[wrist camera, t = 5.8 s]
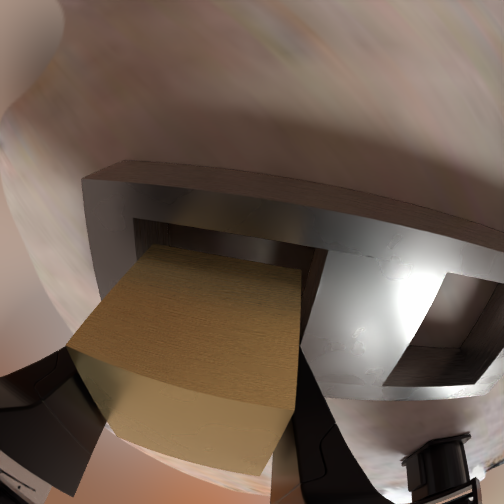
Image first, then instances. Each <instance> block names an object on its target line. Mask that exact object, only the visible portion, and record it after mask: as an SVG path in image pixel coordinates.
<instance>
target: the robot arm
mask: <svg viewBox="0 0 504 504" xmlns="http://www.w3.org/2000/svg"><path fill="white" fill-rule="evenodd" d="M106 422H107V421H106V419H105V418H104V416H103V414H102V413H101V411H100V410H99V408H98V406H97V405H96V403H95V401H94V400H93V398H92V396H91V394H90V393H89V391H88V389H87V387H86V385H85V384H84V382H83V380H82V378H81V376H80V374H79V372H78V370H77V368H76V366H75V364H74V362H73V360H72V358H71V356H70V354H69V352H68V350H67V348H66V346H65V347H63V348H61V349H60V350H59V351H56V352H54V353H52V354H51V355H49V356H47V357H45V358H43V359H41V360H39V361H37V362H35V363H33V364H31V365H29V366H26V367H24V368H22V369H19V370H17V371H15V372H13V373H10V374H8V375H5V376H3V377H0V504H44V502H45V500H46V498H47V496H48V494H49V491H50V489H51V487H52V486H53V487H55V488H57V489H59V490H60V491H62V492H64V493H66V494H68V495H69V496H71V497H74V495H75V493H76V491H77V488H78V486H79V483H80V481H81V478H82V476H83V473H84V471H85V469H86V467H87V464H88V462H89V460H90V457H91V455H92V452H93V450H94V448H95V446H96V444H97V441H98V439H99V437H100V435H101V433H102V430H103V428H104V426H105V424H106ZM335 423H336V422H335V419H334V417H333V415H332V413H331V411H330V409H329V407H328V404H327V402H326V400H325V398H324V396H323V394H322V392H321V389H320V387H319V385H318V383H317V381H316V379H315V377H314V374H313V372H312V370H311V368H310V366H309V364H308V362H307V359H306V357H305V355H304V353H303V351H302V349H301V347H300V345H299V354H298V371H297V386H296V399H295V410H294V412H293V415H292V417H291V419H290V421H289V423H288V425H287V427H286V429H285V431H284V432H283V434H282V436H281V438H280V440H279V442H278V444H277V446H276V448H275V450H274V451H273V462H272V480H271V497H270V504H395V503H393V502H391V501H390V500H388V499H386V498H385V497H384V496H382V495H381V494H380V493H379V492H378V491H377V490H376V489H375V488H374V486H373V485H372V484H371V482H370V481H369V479H368V478H367V476H366V474H365V473H364V471H363V470H362V468H361V467H360V465H359V464H358V462H357V461H356V459H355V458H354V456H353V454H352V453H351V451H350V449H349V448H348V446H347V444H346V442H345V440H344V438H343V436H342V434H341V432H340V430H339V428H338V426H337V424H335ZM470 438H471V434H469V435H464V436H459V437H453V438H447V439H441V440H434V441H430V442H429V443H427V444H426V445H425V446H423V447H422V448H421V449H420V450H418V451H417V452H416V453H414V454H413V455H412V456H410V457H409V458H408V459H406V460H405V461H403V462H402V466H406V468H407V480H408V491H409V492H412V503H410V504H436V503H438V502H441V501H444V500H446V499H449V498H451V497H454V496H456V495H459V494H461V493H463V492H465V491H468V490H470V489H472V492H471V493H468V494H465V495H462V496H460V497H458V498H455V499H453V500H451V501H448V502H445V503H443V504H482V496H481V488H480V483H479V480H478V479H477V478H476V477H475V478H473V479H471V480H470V477H469V471H468V465H467V460H466V455H465V450H464V445H463V444H464V443H466V442H467V441H468V440H469V439H470ZM471 500H472V501H471Z"/></svg>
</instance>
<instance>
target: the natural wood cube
mask: <svg viewBox="0 0 504 504" xmlns="http://www.w3.org/2000/svg"><path fill="white" fill-rule="evenodd" d="M300 308H301V270H299V269H294V268H288V267H282V266H276V265H271V264H265V263H259V262H253V261H248V260H242V259H236V258H231V257H225V256H219V255H214V254H208V253H203V252H197V251H192V250H186V249H181V248H175V247H170V246H164V245H159V244H153V245H152V246H151V247H150V248H149V249H148V250H147V251H146V252H145V253H144V254H143V255H142V256H141V257H140V258H139V260H138V261H137V262H136V263H135V264H134V265H133V266H132V267H131V268H130V269H129V270H128V272H127V273H126V274H125V275H124V276H123V277H122V278H121V279H120V280H119V282H118V283H117V284H116V285H115V286H114V287H113V288H112V289H111V291H110V292H109V293H108V294H107V295H106V296H105V298H104V299H103V300H102V301H101V302H100V303H99V305H98V306H97V307H96V308H95V309H94V310H93V312H92V313H91V314H90V315H89V316H88V318H87V319H86V320H85V321H84V323H83V324H82V325H81V326H80V327H79V329H78V330H77V331H76V332H75V334H74V335H73V336H72V338H71V339H70V340H69V341H68V343H67V344H66V348H67V350H68V352H69V354H70V356H71V358H72V360H73V362H74V364H75V366H76V368H77V370H78V372H79V374H80V376H81V378H82V380H83V382H84V384H85V385H86V387H87V389H88V391H89V393H90V394H91V396H92V398H93V400H94V401H95V403H96V405H97V406H98V408H99V410H100V411H101V413H102V414H103V416H104V418H105V419H106V421H107V422H108V424H109V425H110V427H111V428H112V430H113V431H114V433H115V434H116V436H117V437H119V438H122V439H124V440H126V441H129V442H131V443H134V444H137V445H139V446H142V447H145V448H147V449H150V450H153V451H156V452H159V453H162V454H165V455H168V456H171V457H175V458H178V459H181V460H185V461H188V462H192V463H196V464H200V465H204V466H208V467H212V468H217V469H221V470H226V471H231V472H236V473H242V474H248V475H254V476H260V474H261V473H262V471H263V469H264V468H265V466H266V464H267V462H268V460H269V459H270V457H271V455H272V453H273V451H274V450H275V448H276V446H277V444H278V442H279V440H280V438H281V436H282V434H283V432H284V431H285V429H286V427H287V425H288V423H289V421H290V419H291V417H292V415H293V412H294V410H295V399H296V386H297V371H298V354H299V334H300Z"/></svg>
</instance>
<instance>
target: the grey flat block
mask: <svg viewBox="0 0 504 504" xmlns="http://www.w3.org/2000/svg"><path fill="white" fill-rule="evenodd" d="M81 180H82V191H83V201H84V210H85V218H86V225H87V232H88V238H89V244H90V250H91V255H92V261H93V266H94V271H95V275H96V280H97V284H98V289H99V293H100V297H101V301H102V300H103V299H104V298H105V296H106V295H107V294H108V293H109V292H110V291H111V289H112V288H113V287H114V286H115V285H116V284H117V283H118V282H119V280H120V279H121V278H122V277H123V276H124V275H125V274H126V273H127V272H128V270H129V269H130V268H131V267H132V266H133V265H134V264H135V263H136V262H137V261H138V260H139V258H140V257H141V256H142V255H143V254H144V253H145V252H146V251H147V250H148V249H149V248H150V247H151V246H152V245H153V244H159V245H164V246H169V236H168V223H171V224H178V225H184V226H190V227H197V228H203V229H209V230H215V231H221V232H228V233H234V234H240V235H246V236H252V237H258V238H264V239H270V240H275V241H281V242H287V243H293V244H299V245H304V246H310V247H315V250H314V254H313V258H312V262H311V266H310V270H309V274H308V278H307V282H306V286H305V290H304V293H303V297H302V301H301V308H300V334H299V345H300V347H301V349H302V351H303V353H304V355H305V357H306V359H307V362H308V364H309V366H310V368H311V370H312V372H313V374H314V377H315V379H316V381H317V383H318V385H319V387H320V389H321V392H322V394H323V396H324V397H328V398H340V399H356V400H384V401H410V400H437V399H452V398H463V397H472V396H481V395H486V394H487V393H488V392H489V391H490V390H491V389H492V387H493V386H494V385H495V384H496V383H497V382H498V381H499V379H500V378H501V377H502V376H503V375H504V233H503V232H500V231H497V230H495V229H492V228H489V227H486V226H483V225H480V224H477V223H474V222H471V221H468V220H465V219H461V218H458V217H455V216H452V215H448V214H445V213H442V212H438V211H435V210H431V209H428V208H424V207H420V206H417V205H413V204H409V203H405V202H401V201H397V200H393V199H389V198H385V197H381V196H377V195H372V194H368V193H364V192H359V191H354V190H350V189H345V188H340V187H335V186H330V185H325V184H320V183H315V182H309V181H304V180H298V179H292V178H286V177H280V176H273V175H267V174H260V173H253V172H246V171H238V170H231V169H222V168H214V167H204V166H195V165H184V164H173V163H160V162H145V161H127V160H123V161H121V162H119V163H116V164H114V165H111V166H109V167H107V168H104V169H102V170H100V171H97V172H95V173H93V174H91V175H88V176H86V177H84V178H82V179H81ZM447 272H450V273H455V274H460V275H465V276H470V277H475V278H480V279H484V280H489V281H494V282H499V283H498V285H497V287H496V289H495V291H494V293H493V295H492V297H491V299H490V300H489V302H488V304H487V306H486V308H485V309H484V311H483V313H482V315H481V316H480V318H479V320H478V321H477V323H476V324H475V326H474V328H473V329H472V331H471V332H470V334H469V335H468V337H467V338H466V340H465V341H464V343H463V344H462V346H461V347H460V349H459V348H435V347H418V346H408V345H409V343H410V342H411V340H412V338H413V337H414V335H415V333H416V331H417V330H418V328H419V326H420V324H421V323H422V321H423V319H424V317H425V315H426V313H427V312H428V310H429V308H430V306H431V304H432V302H433V300H434V298H435V296H436V294H437V292H438V290H439V288H440V286H441V284H442V282H443V280H444V277H445V275H446V273H447Z"/></svg>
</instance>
